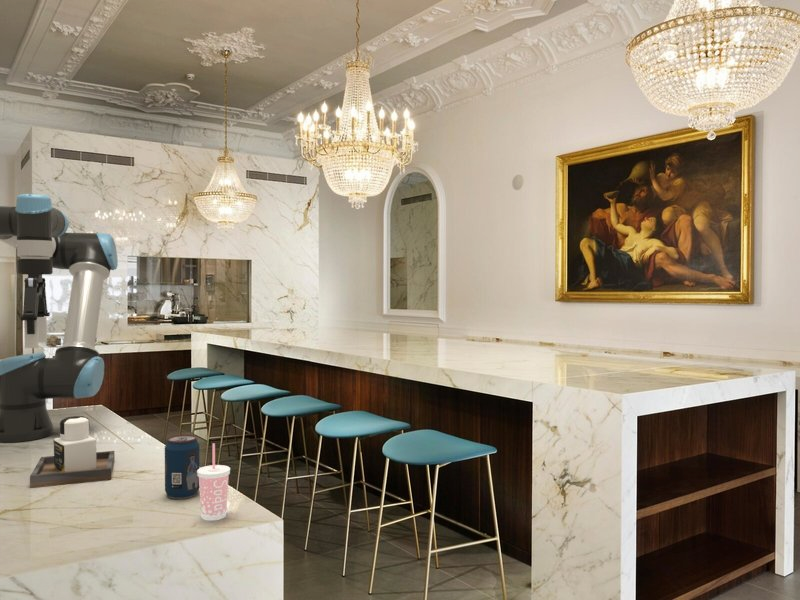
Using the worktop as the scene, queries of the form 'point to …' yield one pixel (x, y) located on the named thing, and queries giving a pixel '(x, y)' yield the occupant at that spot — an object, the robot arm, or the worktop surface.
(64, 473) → the wooden tray
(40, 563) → the worktop surface
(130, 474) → the worktop surface
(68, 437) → the medicine bottle
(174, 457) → the soda can
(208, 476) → the beverage cup
